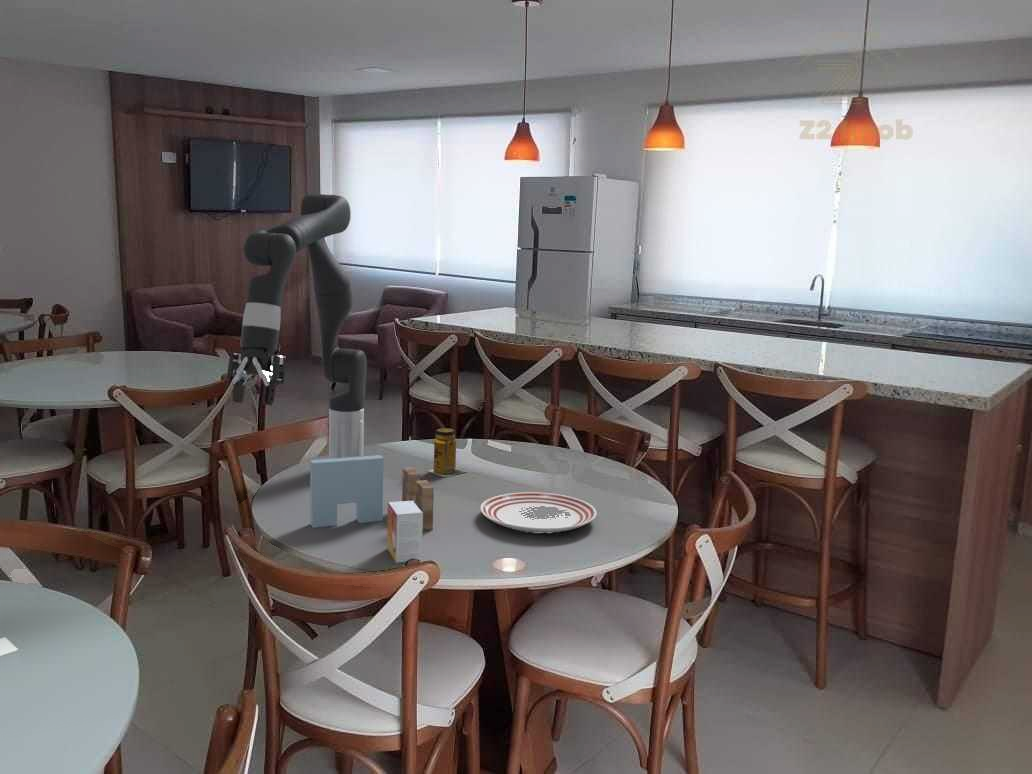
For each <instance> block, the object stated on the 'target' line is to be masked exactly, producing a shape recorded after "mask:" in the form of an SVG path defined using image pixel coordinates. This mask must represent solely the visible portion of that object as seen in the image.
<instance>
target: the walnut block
mask: <svg viewBox="0 0 1032 774" xmlns="http://www.w3.org/2000/svg"><path fill="white" fill-rule="evenodd" d="M420 478H421V477H420V473H419V471H417V469H415V468H414V466H410V467H402V483H401V485H402V486H401V489H402V490H401V494H402V495H401V501H414V503H415V504H416V505H417V507H418V508H419V509H420V510H421V511H422V513H423V527H422V532H423V531H433V529H434V528H433V527H434V526H433V525H434V499H435V498H434V496H435V494H434V493H435V487H434V486H433V484H431V483H430V482H429V480H427V479H425V480H421V479H420Z"/></svg>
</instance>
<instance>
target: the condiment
mask: <svg viewBox="0 0 1032 774" xmlns="http://www.w3.org/2000/svg"><path fill="white" fill-rule="evenodd" d="M456 462H457V440H456V431H455V430H454V429H453V428H447V427H446V428H445V427H444V428H443V427H441V428H438V429H436V430H435V438H434V441H433V469H431V470H427V472H429V473H432V474H434V475H437V476H440V477H442V478H444V477H450V476H455V475H459V474H463V473H467V472H468V471H467V470H464V469H460V468H457V466H456V464H457V463H456Z"/></svg>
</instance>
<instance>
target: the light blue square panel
mask: <svg viewBox="0 0 1032 774" xmlns="http://www.w3.org/2000/svg"><path fill="white" fill-rule="evenodd" d="M309 461H310V462H309V465H310V469H309V470H310V474H309V475H310V476H309V481H310V485H309V489H310V493H309V494H310V495H309V496H310V499H309V500H310V502H309V503H310V504H309V505H310V507H309V508H310V512H309V513H310V516H309V517H310V521H309V522H310V527H312V529H314V528H324V527H334V526H338V505H342V504H344V505H345V504H353V503H354V504H355V503H356V505H355V507H356V511H355V513H356V514H355V515H356V516H355V517H356V521H357V522H358V523H359V524H363V523H373V522H382V521H383V515H384V514H383V511H384V509H383V506H384V457H383V455H381V454H377V455H376V454H375V455H363V456H361V457H347V458H333V459H329V458H322V459H321V458H320V459H310V460H309Z"/></svg>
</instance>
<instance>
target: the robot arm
mask: <svg viewBox="0 0 1032 774" xmlns="http://www.w3.org/2000/svg"><path fill="white" fill-rule="evenodd" d="M300 202H301V203H300V215H297V216H294V217H290V218H289V219H286V220H285V221H283V222H281V223H280V224H278V225H276V226H270V227H266V228H262V229H258V230H255V231H253V232H251V233H250V234H249V235H248V236H247V237H246V239H245V241H244V243H243V254H244V257H245V259H246V260H247V261H248V262H249V263H250V264H251V265H254V266H258V267H270V268H269V270H268V271H267V273H265V274H264V273H263V274H261V275H256V276H253V277H251V278H250V279H249V281H248V286H247V295H246V302H245V303H246V304H245V309H244V311H243V317H242V318H243V319H242V325H241V335H240V341H239V344H240V347H241V348H242V351H241V353H236V352H231V353H230V355H229V358H228V359H229V360H228V366H227V372H226V381H227V382H230V383H232V384H233V386H232V387H233V389H232V396H231V397H232V398H231V399H232V402H233V403H235V404H236V403H237V404H242V403H244V397H245V390H246V389H245V388H246V386H245V383H247V381H248V379H250V378H252V377H253V376H259V378H261V379H262V381H263V384H264V386H263V393H262V400H261V402H262V405H264V406H273V403H274V401H275V394H276V388H277V387H278V386H280V385H284V383H285V379H286V378H285V376H286V375H285V374H286V360H287V358H286V356H285V355H280V354H275V352H276V351H278V345H279V338H280V337H279V336H280V329H281V328H280V327H281V321H282V320H281V319H282V315H281V310H282V308H281V306H282V302H283V301H282V299H283V291H284V288H285V284H286V283H287V279H288V276H289V274H290V272H291V269H292V267H293V265H294V263H295V259H296V254H297V253H298V252H299V251H302V250H303V249H305V248H306V247H307V251H308V255H309V262H310V267H311V272H312V273H311V274H312V281H313V282H312V284H313V292H314V298H315V304H316V305H315V306H316V311H317V316H318V317H317V318H318V322H319V331H320V342H321V344H320V345H321V363H322V371H323V375H324V377H325V379H326V380H327V381H328V382H331V383H334V384H335V383H338V384H349V385H348V390H347V391H345V392H343V393H342V392H341V393H338V394H334V395H333V396H331V397H330V398H329V401H328V407H329V408H328V411H329V412H328V420H329V422H328V426H329V427H328V429H329V430H328V431H329V432H328V459H333V458H347V457H361V456H365V455H364V449H365V448H364V445H365V443H364V442H365V441H364V439H365V438H364V437H365V436H364V435H365V430H364V429H365V398H366V381H367V370H368V369H367V367H368V361H367V355H366V354H365V351H363V350H360V349H353V348H340V347H339V342H338V341H339V340H338V339H339V332H340V330H341V329H342V326H343V324H344V323H345V321H346V320H347V318H348V317H349V314H350V312H351V310H352V308H353V303H354V301H353V293H352V286H351V280H350V277H349V275H348V273H347V272H346V270H345V269H344V268H343V266H342V265H341V264H340V262H339V261H338V260H337V258H336V257H335V256H334V254H333V253H332V252H331V250H330V248H329V247H328V244H327V241H326V239H325V238H327V237H330V236H333V235H337V234H341V233H343V232H345V231H346V230H347V228H348V227H349V225H350V223H351V213H352V212H351V207H350V203H349V201H348V200H347V199H346V198H345V197H344V196H342V195H338V194H337V195H336V194H323V193H322V194H320V193H316V194H315V193H309V194H306V195H304V196H303V198H302V199H301V201H300Z"/></svg>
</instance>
